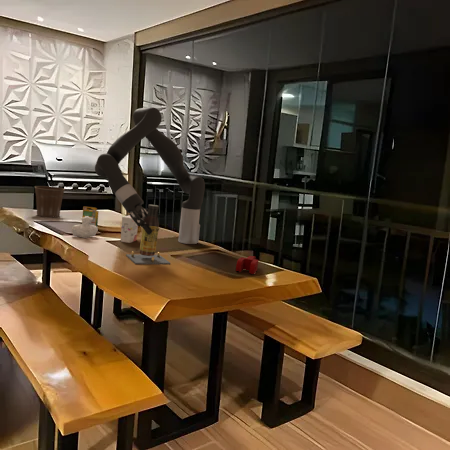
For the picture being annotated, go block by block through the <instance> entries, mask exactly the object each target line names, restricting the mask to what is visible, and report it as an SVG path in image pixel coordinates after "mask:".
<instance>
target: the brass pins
mask: <svg viewBox="0 0 450 450" xmlns="http://www.w3.org/2000/svg"><path fill="white" fill-rule="evenodd" d="M130 254H131V257H134V254H135V251H133V250H132V251H131V253H130ZM156 255H157V257H160V256H161V252H160V251H157V253H156ZM151 262H152V263H154V257H152V260H151Z"/></svg>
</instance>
